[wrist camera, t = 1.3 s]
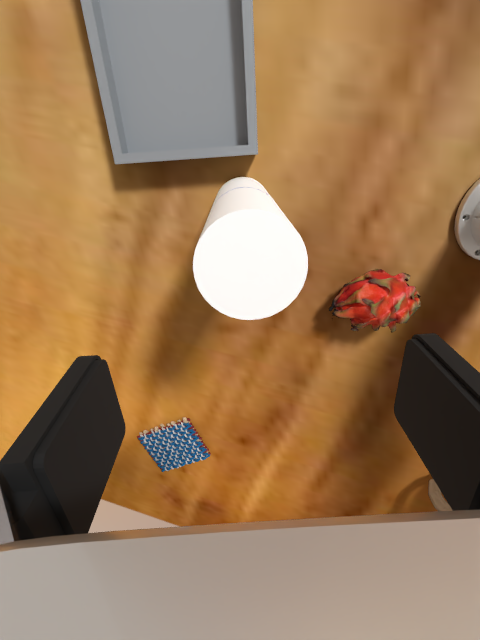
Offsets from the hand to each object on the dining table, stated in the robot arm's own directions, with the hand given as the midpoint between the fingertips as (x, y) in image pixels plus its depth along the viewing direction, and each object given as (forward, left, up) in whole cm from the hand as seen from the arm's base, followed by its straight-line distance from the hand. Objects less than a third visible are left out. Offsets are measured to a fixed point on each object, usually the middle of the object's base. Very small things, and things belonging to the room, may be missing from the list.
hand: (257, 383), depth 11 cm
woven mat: (+15, +41, -37) cm, 57 cm away
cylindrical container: (0, 0, -37) cm, 37 cm away
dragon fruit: (-17, +13, -37) cm, 43 cm away
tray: (+6, -17, -36) cm, 41 cm away
